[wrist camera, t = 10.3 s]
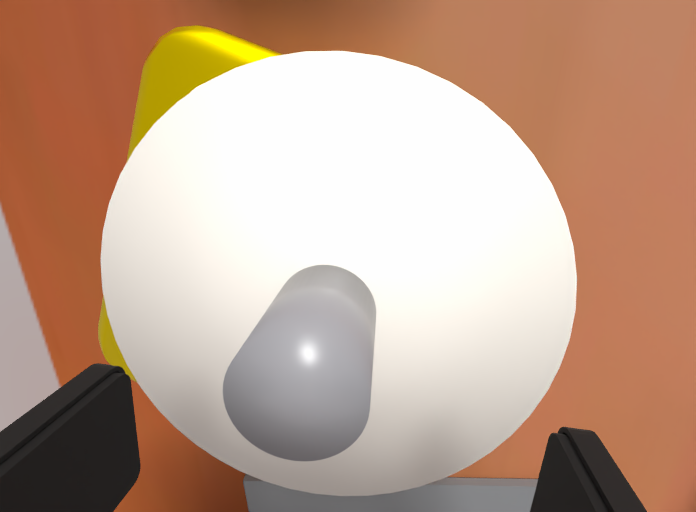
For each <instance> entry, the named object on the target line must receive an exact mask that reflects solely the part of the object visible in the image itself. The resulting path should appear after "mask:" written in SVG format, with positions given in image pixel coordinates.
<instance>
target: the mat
mask: <svg viewBox="0 0 696 512" xmlns="http://www.w3.org/2000/svg"><path fill="white" fill-rule="evenodd" d="M537 482H538V479H507V478H451V477H446V478H443V479H440V480H438V481H435V482H432V483H429V484H426V485H423V486H420V487H417V488H412V489H408V490H403V491H399V492H394V493H387V494H378V495H370V496H334V495H323V494H314V493H309V492H303V491H298V490H293V489H288V488H285V487H282V486H278V485H275V484H272V483H269V482H265V481H263V480H260V479H258V478H255V477H253V476H250V475H248V474H246V475H245V477H244V480H243V484H244V489H245V494H246V499H247V504H248V509H249V512H530V509H531V505H532V501H533V498H534V494H535V490H536V486H537Z"/></svg>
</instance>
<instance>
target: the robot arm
mask: <svg viewBox="0 0 696 512" xmlns="http://www.w3.org/2000/svg"><path fill="white" fill-rule="evenodd" d="M139 472H140V458H139V449H138V441H137V432H136V423H135V414H134V406H133V397H132V388H131V380H130V377H129V375H127V374H125V370H124V369H123V368H122V367H120V366H113V365H106V364H99V363H98V364H93V365H91V366H89V367H88V368H87V369H85V370H84V371H83V372H81V373H80V374H79V375H77V376H76V377H74V378H73V379H72V380H70V381H69V382H68V383H66V384H65V385H64V386H62V387H61V388H59V389H58V390H57V391H55V392H54V393H53V394H51V395H50V396H49V397H47V398H46V399H45V400H43V401H42V402H41V403H39V404H38V405H36V406H35V407H34V408H32V409H31V410H30V411H28V412H27V413H25V414H24V415H23V416H21V417H20V418H19V419H17V420H16V421H15V422H13V423H12V424H10V425H9V426H8V427H7V428H5V429H4V430H2V431H1V432H0V512H113V511H114V510H115V508H116V507H117V506H118V504H119V503H120V502H121V501H122V499H123V498H124V497H125V495H126V494H127V493H128V491H129V490H130V489H131V488H132V486H133V485H134V483H135V482H136V480H137V478H138V475H139ZM530 512H647V511H646V509H645V508H644V506H643V505H642V503H641V502H640V500H639V499H638V497H637V495H636V494H635V492H634V491H633V489H632V488H631V486H630V485H629V483H628V482H627V480H626V479H625V477H624V476H623V474H622V472H621V471H620V469H619V468H618V466H617V465H616V463H615V462H614V460H613V459H612V457H611V456H610V454H609V453H608V451H607V449H606V448H605V446H604V445H603V443H602V442H601V440H600V439H599V437H598V436H597V435H596V433H595V432H593V431H590V430H583V429H576V428H568V427H561V428H560V429H559V431H558V434H557V433H551V435H550V436H549V439H548V443H547V447H546V451H545V455H544V459H543V463H542V466H541V470H540V474H539V478H538V482H537V486H536V490H535V494H534V498H533V501H532V505H531V509H530Z"/></svg>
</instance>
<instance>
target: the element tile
mask: <svg viewBox="0 0 696 512" xmlns="http://www.w3.org/2000/svg"><path fill="white" fill-rule="evenodd" d="M279 55H284V54H282V53H279V52H276V51H274V50H271V49H269V48H266V47H263V46H261V45H258V44H255V43H253V42H250V41H248V40H245V39H242V38H240V37H237V36H235V35H232V34H229V33H227V32H224V31H222V30H219V29H215V28H210V27H205V26H200V25H196V26H186V27H176V28H174V29H173V30H171V31H169V32H168V33H166V34H165V35H163V36H161V37H160V38H159V39H158V41H157V42H156V44H155V45H154V47H153V48H152V50H151V52H150V53H149V55H148V57H147V59H146V61H145V64H144V66H143V71H142V77H141V82H140V88H139V94H138V100H137V106H136V111H135V117H134V123H133V129H132V134H131V140H130V146H129V152H128V157H127V162H128V160H129V158H130V156H131V155H132V153H133V151H134V149H135V148H136V147H137V145H138V144H139V143H140V141H141V140H142V139H143V138H144V136H145V135H146V134H147V132H148V131H149V130H150V129H151V127H152V126H153V125H154V124H155V123H156V122H157V121H158V120H159V119H160V118H161V117H162V116H163V115H164V114H165V113H166V112H167V111H168V110H169V109H170V108H171V107H173V106H174V105H175V104H176V103H177V102H178V101H179V100H181V99H182V98H184V97H185V96H187V95H188V94H189V93H191V92H192V91H194V90H195V89H197V88H198V87H200V86H201V85H202V84H204V83H206V82H208V81H210V80H212V79H214V78H216V77H218V76H220V75H222V74H224V73H226V72H228V71H230V70H232V69H234V68H236V67H240V66H243V65H246V64H249V63H252V62H255V61H259V60H262V59H265V58H268V57H273V56H279ZM98 338H99V342H100V346H101V350H102V353H103V355H104V356H105V359H106V360H107V362H108V363H110V365H113V366H120V367H122V368H123V369H124V370H125V374H127V375H129V377H130V379H131V380H133V381H135V382H137V380H136V379H135V377H134V375H133V374H132V372H131V371H130V369H129V367H128V366H127V364H126V362H125V359H124V357H123V355H122V353H121V351H120V349H119V346H118V344H117V342H116V340H115V337H114V334H113V330H112V327H111V324H110V321H109V318H108V315H107V310H106V305H105V299H104V296H103V302H102V307H101V313H100V319H99V325H98ZM137 383H138V382H137Z"/></svg>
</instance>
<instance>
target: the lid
mask: <svg viewBox="0 0 696 512" xmlns="http://www.w3.org/2000/svg"><path fill="white" fill-rule="evenodd" d="M101 274H102V289H103V294H104V299H105V305H106V310H107V315H108V318H109V321H110V324H111V327H112V330H113V334H114V337H115V340H116V342H117V344H118V346H119V349H120V351H121V353H122V355H123V357H124V359H125V362H126V364H127V366H128V367H129V369H130V371H131V372H132V374H133V375H134V377H135V379H136V380H137V382H138V384H139V385H140V387H141V388H142V390H143V391H144V392H145V394H146V395H147V396H148V397H149V399H150V400H151V401H152V403H153V404H154V405H155V406H156V408H157V409H158V410H159V411H160V412H161V413H162V414H163V415H164V416H165V417H166V418H167V419H168V420H169V421H170V422H171V423H172V424H173V425H174V426H175V427H176V428H177V429H178V430H179V431H180V432H181V433H183V434H184V435H185V436H186V437H187V438H189V439H190V440H191V441H192V442H193V443H195V444H196V445H197V446H199V447H200V448H202V449H203V450H205V451H206V452H208V453H209V454H211V455H212V456H214V457H215V458H217V459H218V460H220V461H222V462H224V463H226V464H228V465H229V466H231V467H233V468H235V469H237V470H239V471H241V472H243V473H246V474H248V475H250V476H253V477H255V478H258V479H260V480H263V481H265V482H269V483H272V484H275V485H278V486H282V487H285V488H288V489H293V490H298V491H303V492H309V493H314V494H323V495H334V496H370V495H378V494H387V493H394V492H399V491H403V490H408V489H412V488H417V487H420V486H423V485H426V484H429V483H432V482H435V481H438V480H440V479H443V478H446V477H448V476H450V475H452V474H454V473H456V472H458V471H460V470H462V469H464V468H466V467H468V466H470V465H471V464H473V463H475V462H476V461H478V460H479V459H481V458H482V457H484V456H486V455H487V454H489V453H490V452H492V451H493V450H494V449H495V448H496V447H498V446H499V445H500V444H501V443H503V442H504V441H505V440H506V439H507V438H509V437H510V436H511V435H512V434H513V433H514V432H515V431H516V430H517V429H518V428H519V427H520V426H521V424H522V423H523V422H524V421H525V420H526V419H527V418H528V417H529V416H530V415H531V413H532V412H533V411H534V409H535V408H536V406H537V405H538V404H539V402H540V401H541V399H542V398H543V397H544V395H545V394H546V392H547V391H548V389H549V387H550V385H551V383H552V381H553V379H554V377H555V375H556V373H557V371H558V370H559V368H560V365H561V362H562V360H563V357H564V354H565V351H566V348H567V345H568V343H569V340H570V335H571V330H572V325H573V320H574V315H575V310H576V287H577V275H576V266H575V256H574V247H573V243H572V239H571V235H570V232H569V228H568V224H567V220H566V216H565V214H564V211H563V209H562V207H561V204H560V202H559V200H558V197H557V195H556V193H555V190H554V188H553V186H552V184H551V182H550V180H549V179H548V177H547V176H546V174H545V172H544V171H543V169H542V168H541V166H540V164H539V163H538V161H537V160H536V158H535V156H534V155H533V153H532V152H531V151H530V150H529V149H528V147H527V146H526V145H525V144H524V143H523V142H522V140H521V139H520V138H519V137H518V136H517V135H516V133H515V132H514V131H513V130H512V129H511V128H510V126H508V125H507V124H506V123H505V122H504V121H503V120H502V119H500V118H499V117H498V116H497V115H496V114H495V113H494V112H492V111H491V110H490V109H489V108H488V107H487V106H485V105H484V104H483V103H482V102H481V101H479V100H477V99H476V98H474V97H473V96H471V95H470V94H468V93H467V92H465V91H463V90H462V89H460V88H459V87H457V86H456V85H454V84H453V83H451V82H449V81H447V80H445V79H442V78H440V77H438V76H436V75H434V74H431V73H429V72H427V71H425V70H423V69H420V68H418V67H416V66H412V65H409V64H405V63H402V62H399V61H395V60H392V59H388V58H385V57H381V56H375V55H368V54H361V53H354V52H346V51H305V52H298V53H292V54H286V55H279V56H273V57H268V58H265V59H262V60H259V61H255V62H252V63H249V64H246V65H243V66H240V67H236V68H234V69H232V70H230V71H228V72H226V73H224V74H222V75H220V76H218V77H216V78H214V79H212V80H210V81H208V82H206V83H204V84H202V85H201V86H200V87H198V88H197V89H195V90H194V91H192V92H191V93H189V94H188V95H187V96H185V97H184V98H182V99H181V100H179V101H178V102H177V103H176V104H175V105H174V106H173V107H171V108H170V109H169V110H168V111H167V112H166V113H165V114H164V115H163V116H162V117H161V118H160V119H159V120H158V121H157V122H156V123H155V124H154V125H153V126H152V127H151V129H150V130H149V131H148V132H147V134H146V135H145V136H144V138H143V139H142V140H141V141H140V143H139V144H138V145H137V147H136V148H135V149H134V151H133V153H132V155H131V156H130V158H129V160H128V162H127V163H126V165H125V167H124V169H123V171H122V172H121V174H120V176H119V179H118V181H117V184H116V187H115V189H114V192H113V195H112V197H111V200H110V202H109V206H108V211H107V215H106V220H105V224H104V229H103V237H102V249H101Z"/></svg>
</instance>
